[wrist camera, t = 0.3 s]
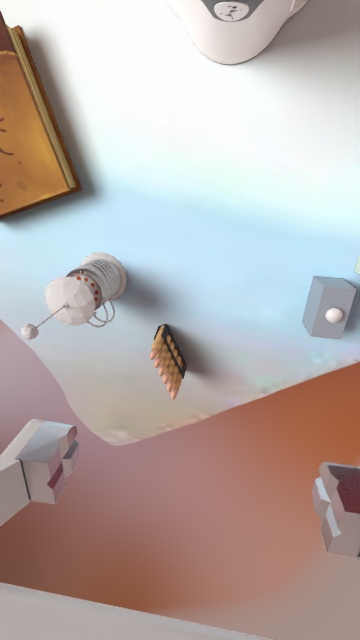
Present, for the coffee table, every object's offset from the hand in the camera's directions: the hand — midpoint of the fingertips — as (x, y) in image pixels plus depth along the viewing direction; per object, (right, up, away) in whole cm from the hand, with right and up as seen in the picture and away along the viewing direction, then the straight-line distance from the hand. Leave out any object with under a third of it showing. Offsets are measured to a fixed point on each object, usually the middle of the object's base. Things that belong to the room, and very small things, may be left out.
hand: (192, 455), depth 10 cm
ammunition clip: (-2, -1, +53) cm, 53 cm away
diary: (-30, +36, +41) cm, 62 cm away
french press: (-15, +12, +49) cm, 52 cm away
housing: (+25, +8, +44) cm, 52 cm away
